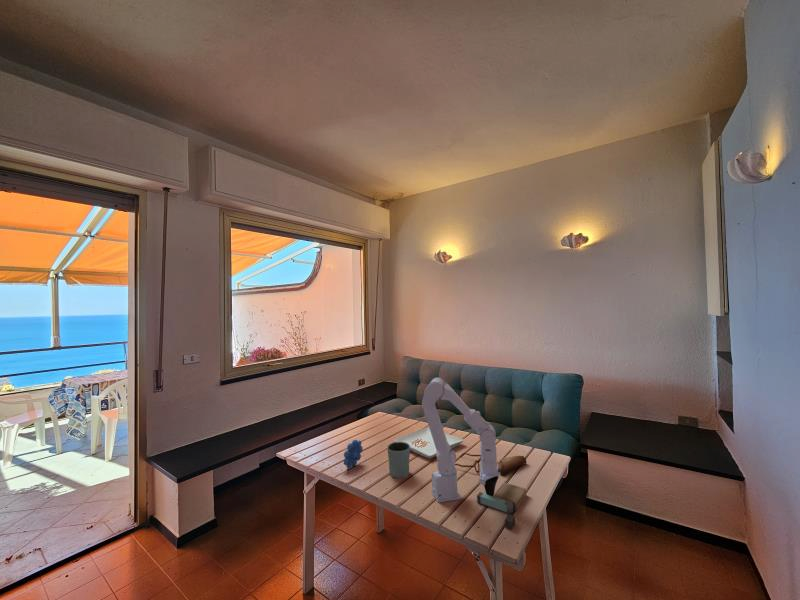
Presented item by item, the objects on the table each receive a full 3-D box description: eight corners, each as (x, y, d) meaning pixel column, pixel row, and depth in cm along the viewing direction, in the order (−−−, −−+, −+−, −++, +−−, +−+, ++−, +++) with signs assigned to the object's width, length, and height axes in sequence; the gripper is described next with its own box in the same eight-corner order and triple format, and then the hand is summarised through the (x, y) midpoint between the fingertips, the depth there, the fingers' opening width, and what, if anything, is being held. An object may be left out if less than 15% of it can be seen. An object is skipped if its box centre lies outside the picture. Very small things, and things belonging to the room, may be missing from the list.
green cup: (405, 466, 147) (405, 440, 147) (414, 476, 137) (413, 448, 138) (384, 471, 143) (384, 443, 144) (392, 481, 134) (391, 452, 134)
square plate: (392, 447, 171) (392, 439, 171) (427, 433, 189) (427, 426, 189) (430, 463, 151) (429, 454, 151) (464, 446, 169) (464, 438, 169)
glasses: (476, 475, 138) (476, 463, 138) (449, 468, 145) (448, 457, 145) (486, 463, 149) (485, 452, 150) (459, 457, 156) (459, 446, 156)
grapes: (355, 459, 156) (355, 434, 156) (366, 463, 152) (365, 437, 152) (337, 468, 146) (337, 442, 147) (347, 473, 142) (347, 445, 143)
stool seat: (530, 496, 120) (530, 489, 120) (511, 529, 102) (511, 521, 102) (505, 488, 126) (504, 482, 126) (482, 519, 108) (482, 511, 108)
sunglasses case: (510, 457, 153) (516, 447, 151) (522, 469, 148) (528, 459, 146) (486, 469, 142) (492, 458, 140) (498, 483, 137) (504, 472, 135)
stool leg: (514, 510, 112) (513, 502, 112) (511, 514, 109) (511, 506, 110) (480, 499, 119) (479, 491, 119) (477, 502, 117) (477, 495, 117)
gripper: (492, 469, 111) (493, 509, 111) (505, 454, 123) (507, 490, 122) (473, 464, 115) (474, 502, 115) (488, 450, 127) (489, 485, 126)
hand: (490, 496), depth 119 cm, fingers closed
